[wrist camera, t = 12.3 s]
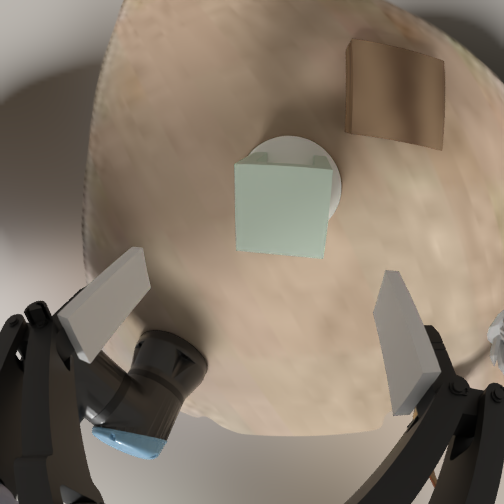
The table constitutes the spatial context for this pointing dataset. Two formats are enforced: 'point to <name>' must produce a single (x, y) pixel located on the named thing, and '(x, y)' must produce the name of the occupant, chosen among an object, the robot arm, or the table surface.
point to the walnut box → (394, 94)
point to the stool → (282, 206)
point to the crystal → (497, 340)
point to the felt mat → (301, 159)
